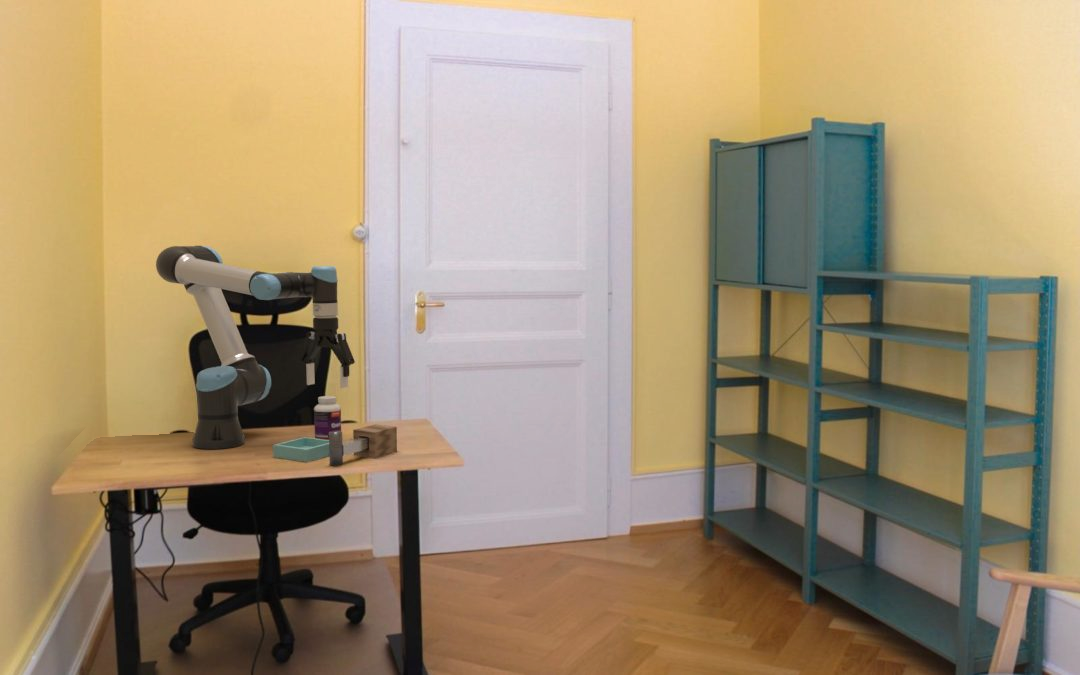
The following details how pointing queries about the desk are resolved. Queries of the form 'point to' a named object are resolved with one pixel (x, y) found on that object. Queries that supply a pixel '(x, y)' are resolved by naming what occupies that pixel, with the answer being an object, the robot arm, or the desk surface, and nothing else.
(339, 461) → the grey t-shaped piece
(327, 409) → the pill bottle
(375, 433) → the mount
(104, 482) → the desk surface
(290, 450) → the tray
